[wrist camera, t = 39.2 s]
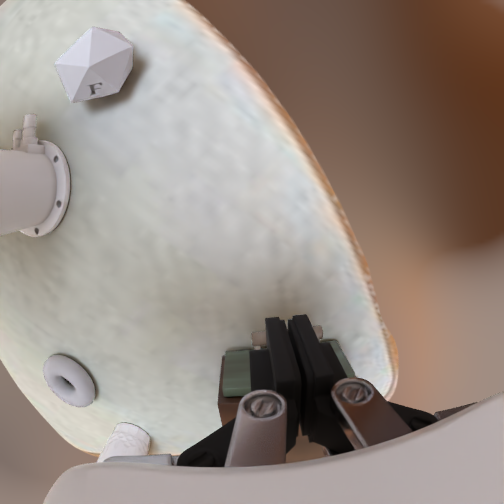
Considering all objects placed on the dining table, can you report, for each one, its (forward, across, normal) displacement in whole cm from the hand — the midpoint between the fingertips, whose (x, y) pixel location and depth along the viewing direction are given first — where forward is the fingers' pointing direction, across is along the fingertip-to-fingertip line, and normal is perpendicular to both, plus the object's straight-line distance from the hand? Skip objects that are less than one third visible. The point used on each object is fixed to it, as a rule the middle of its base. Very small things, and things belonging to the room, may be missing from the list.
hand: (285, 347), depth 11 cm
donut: (+19, +31, +19) cm, 41 cm away
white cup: (+19, +24, +32) cm, 44 cm away
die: (+19, +16, -22) cm, 33 cm away
